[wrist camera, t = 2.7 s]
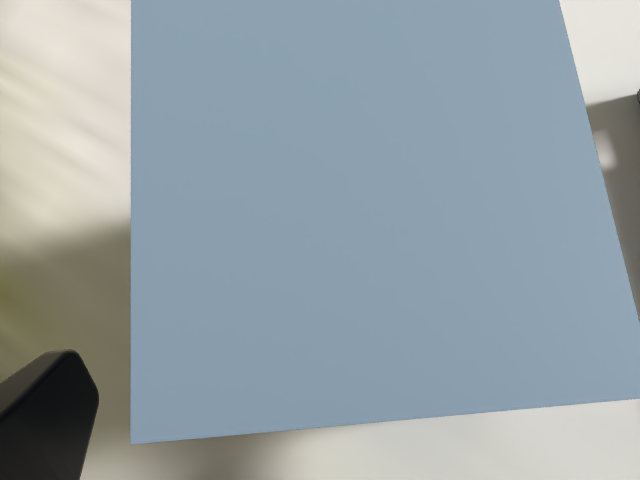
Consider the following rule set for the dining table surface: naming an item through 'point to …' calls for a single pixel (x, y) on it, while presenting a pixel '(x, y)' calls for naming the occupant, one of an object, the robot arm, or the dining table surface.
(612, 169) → the dining table surface
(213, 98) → the blue angular block
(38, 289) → the dining table surface
